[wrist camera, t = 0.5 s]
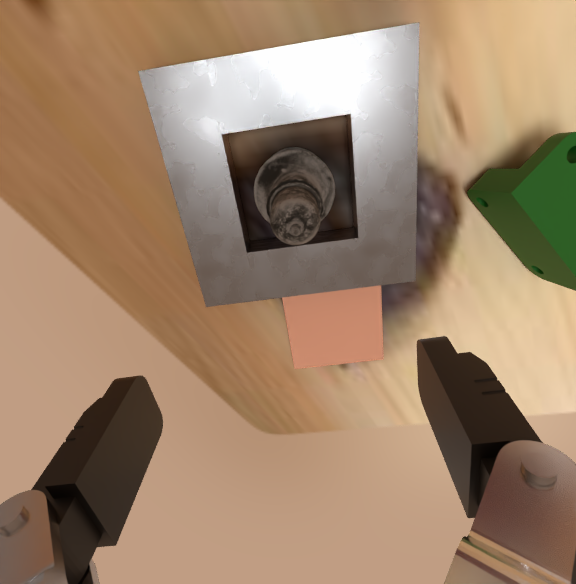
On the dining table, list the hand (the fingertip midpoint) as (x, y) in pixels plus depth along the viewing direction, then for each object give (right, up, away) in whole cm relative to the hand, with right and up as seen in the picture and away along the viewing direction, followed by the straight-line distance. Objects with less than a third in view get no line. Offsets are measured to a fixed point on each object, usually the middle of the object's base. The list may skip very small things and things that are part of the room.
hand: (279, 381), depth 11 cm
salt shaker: (+1, +12, +20) cm, 23 cm away
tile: (+5, 0, +26) cm, 26 cm away
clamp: (+21, +10, +20) cm, 31 cm away
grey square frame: (+1, +11, +19) cm, 23 cm away
